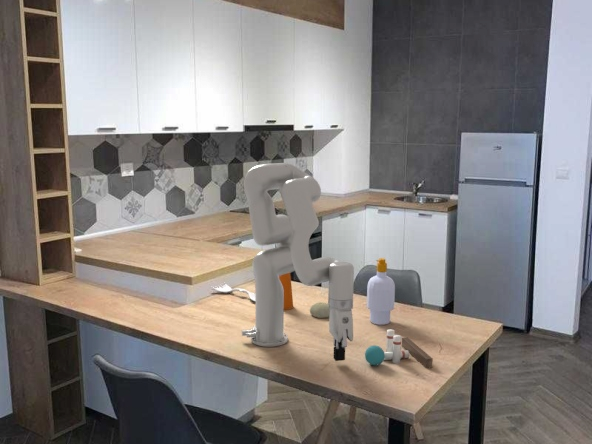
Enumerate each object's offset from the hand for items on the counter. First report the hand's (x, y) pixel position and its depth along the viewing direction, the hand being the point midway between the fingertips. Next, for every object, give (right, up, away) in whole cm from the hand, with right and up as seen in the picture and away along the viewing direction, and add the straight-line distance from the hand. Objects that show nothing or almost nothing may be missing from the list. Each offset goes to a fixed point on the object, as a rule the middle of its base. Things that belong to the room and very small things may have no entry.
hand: (339, 359), depth 183 cm
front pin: (+14, 0, +4) cm, 14 cm away
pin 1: (+17, 0, +7) cm, 18 cm away
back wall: (+25, -1, +7) cm, 26 cm away
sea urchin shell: (-3, +6, +45) cm, 46 cm away
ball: (+11, +1, 0) cm, 11 cm away
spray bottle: (-19, +8, +52) cm, 56 cm away
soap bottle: (+18, +5, +38) cm, 43 cm away
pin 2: (+18, -1, +2) cm, 18 cm away
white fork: (-35, +10, +67) cm, 77 cm away
